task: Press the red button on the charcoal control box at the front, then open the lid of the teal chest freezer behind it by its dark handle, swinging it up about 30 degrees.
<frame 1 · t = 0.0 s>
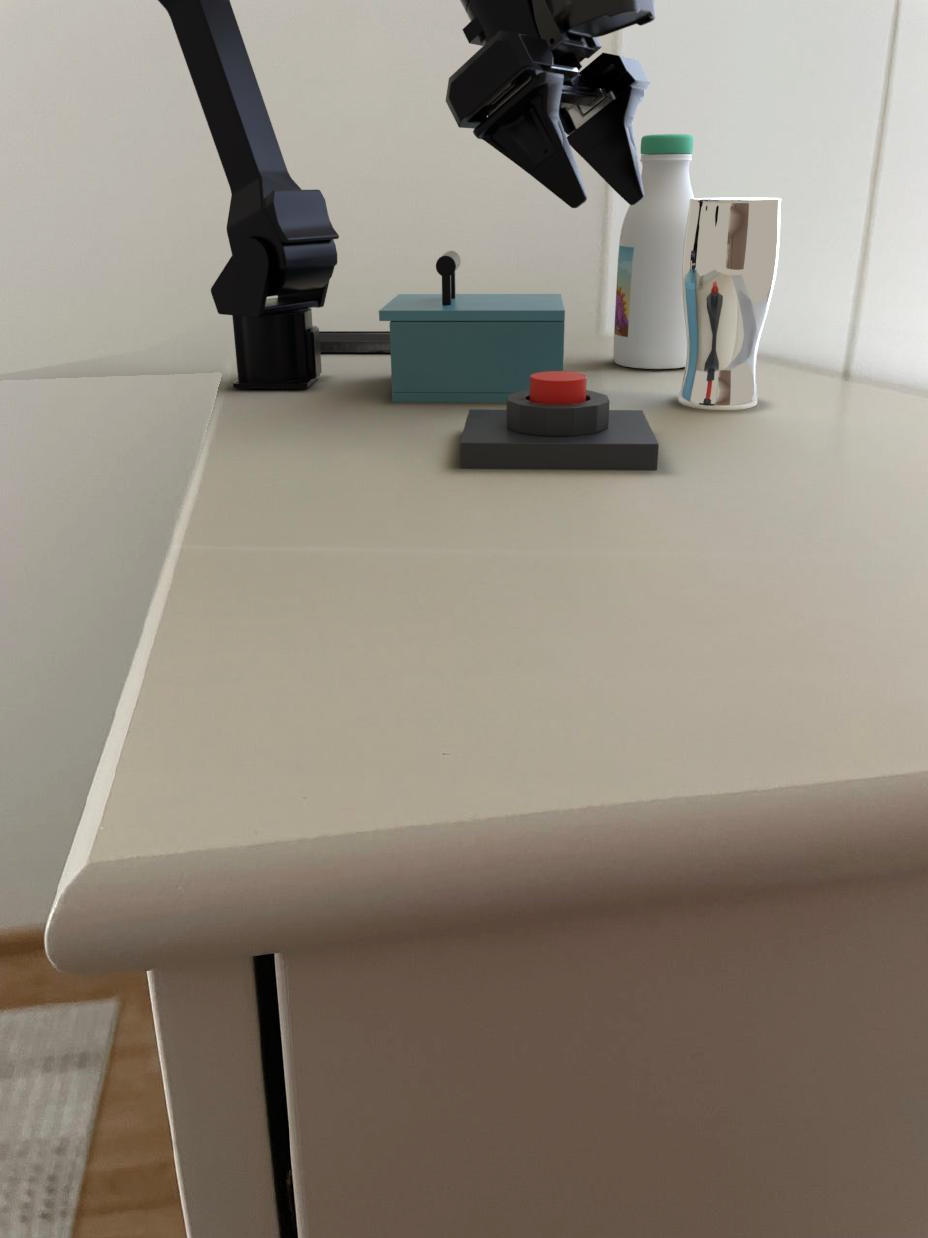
hand: (610, 202, 70), 15 cm above the table, tool tilted 35°, fingers open, 9 cm apart
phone: (359, 348, 110), on the table
beer glass: (717, 405, 82), on the table
power button: (558, 389, 66), point 4 cm above the table, slide at 0.1 cm
control box: (556, 450, 68), on the table
freezer: (480, 388, 88), on the table
milk bottle: (653, 366, 99), on the table
freezer lid: (475, 282, 85), point 9 cm above the table, hinge at 0.0°
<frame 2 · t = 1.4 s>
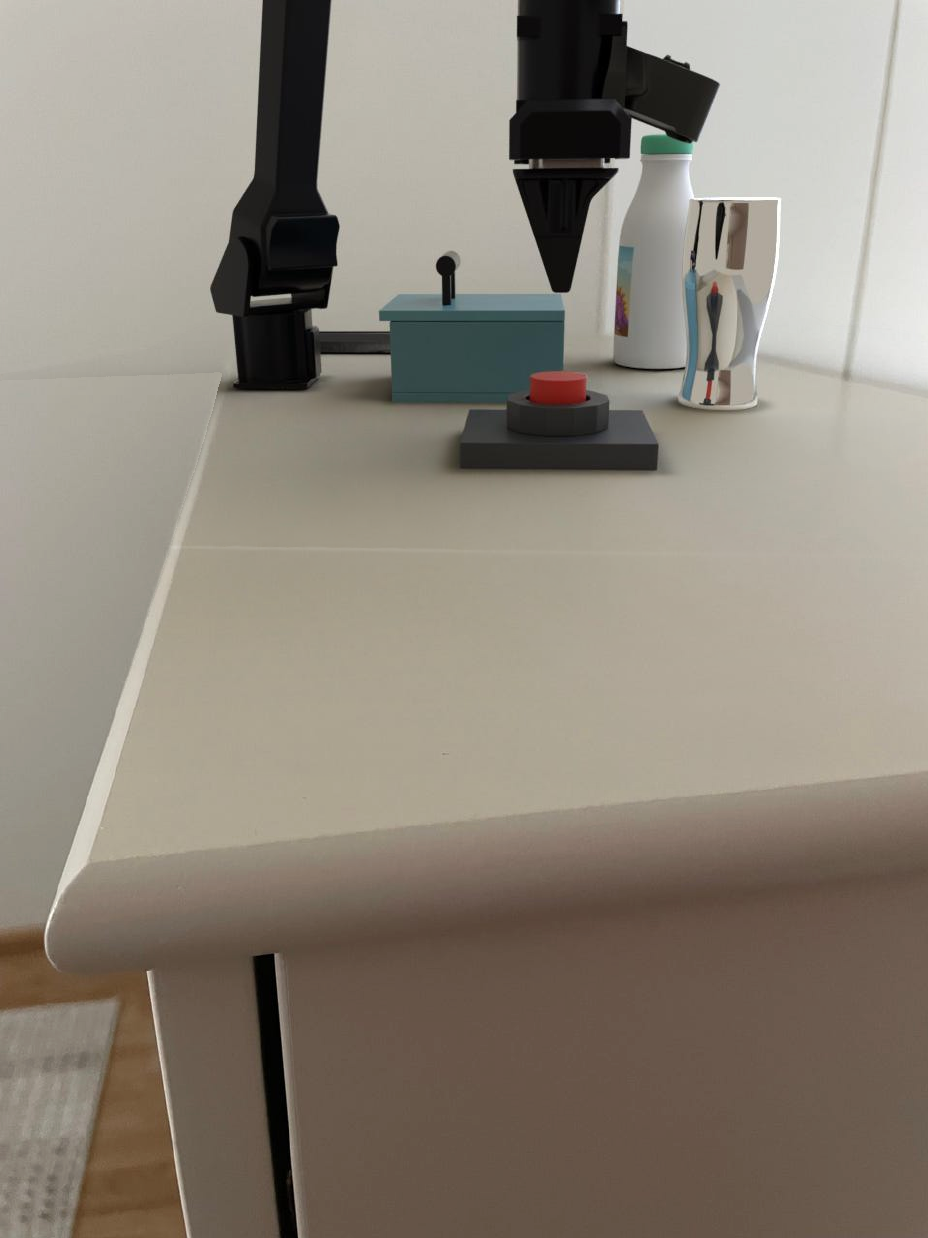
hand: (561, 291, 64), 10 cm above the table, tool pointing down, fingers closed
nothing on the table moved.
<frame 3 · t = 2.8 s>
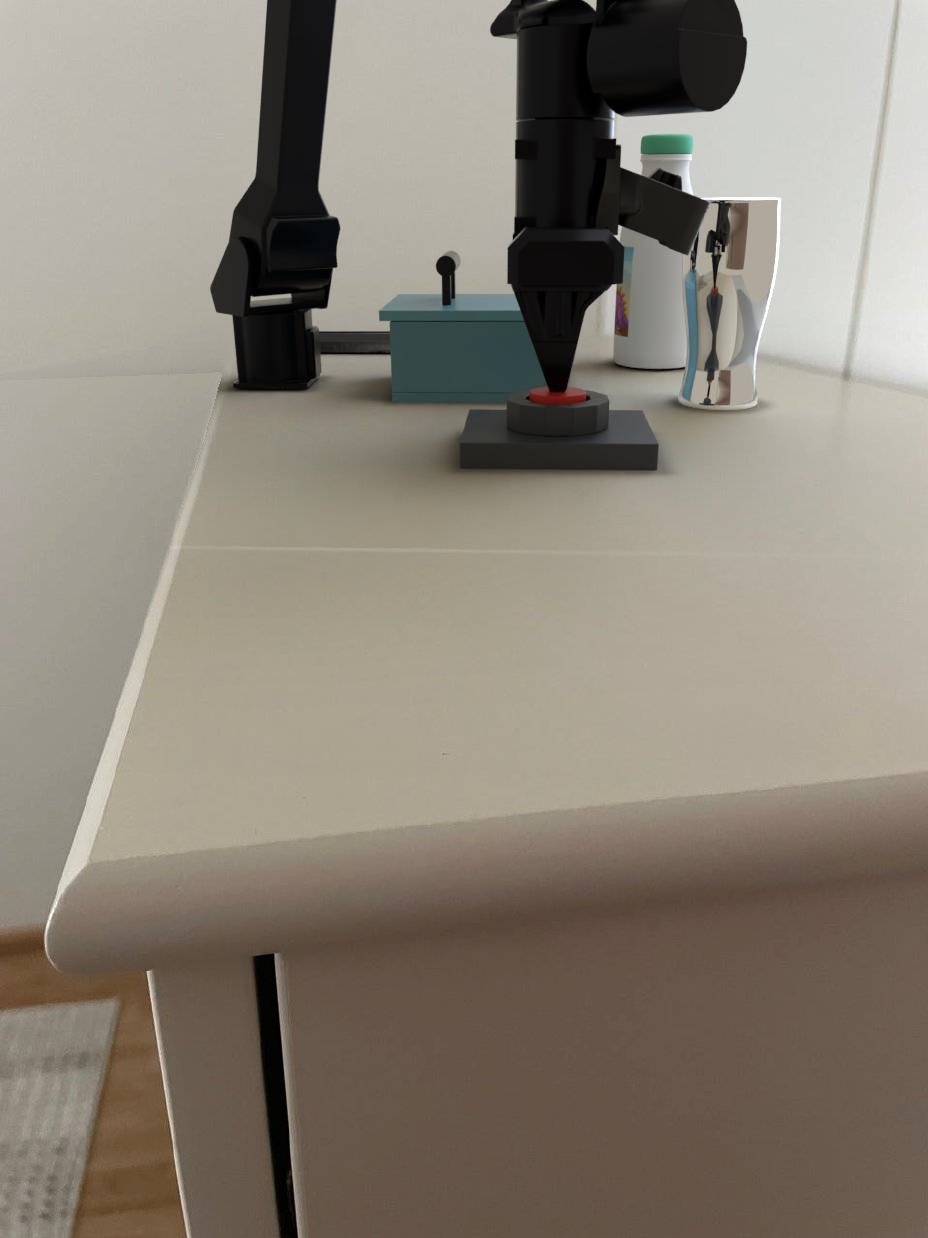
hand: (557, 391, 66), 4 cm above the table, tool pointing down, fingers closed, pressing on power button
power button: (557, 404, 67), point 3 cm above the table, slide at -0.9 cm, touching gripper
everything else where it was.
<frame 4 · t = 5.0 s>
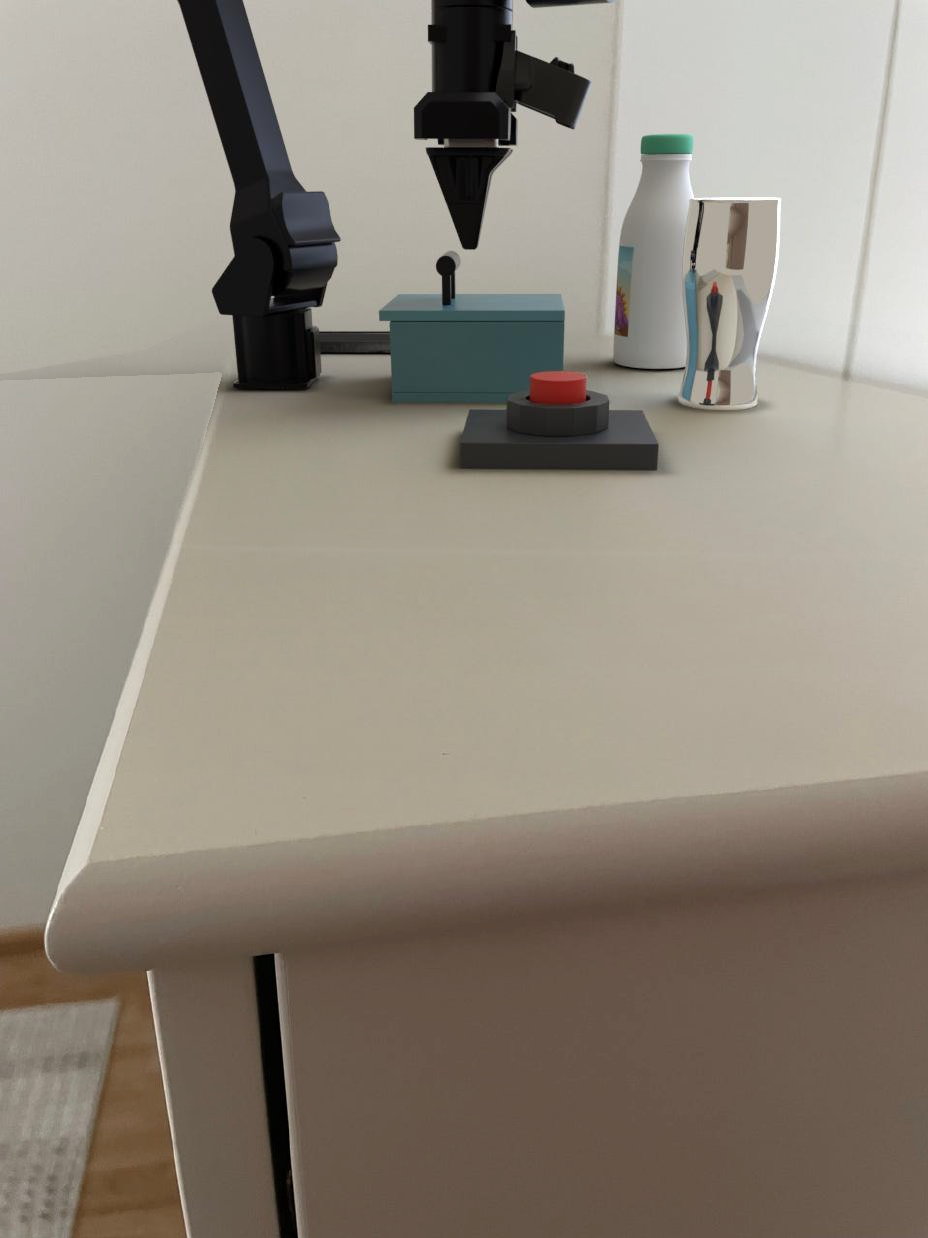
hand: (470, 249, 78), 12 cm above the table, tool pointing down, fingers closed
power button: (558, 389, 66), point 4 cm above the table, slide at 0.1 cm
everything else where it was.
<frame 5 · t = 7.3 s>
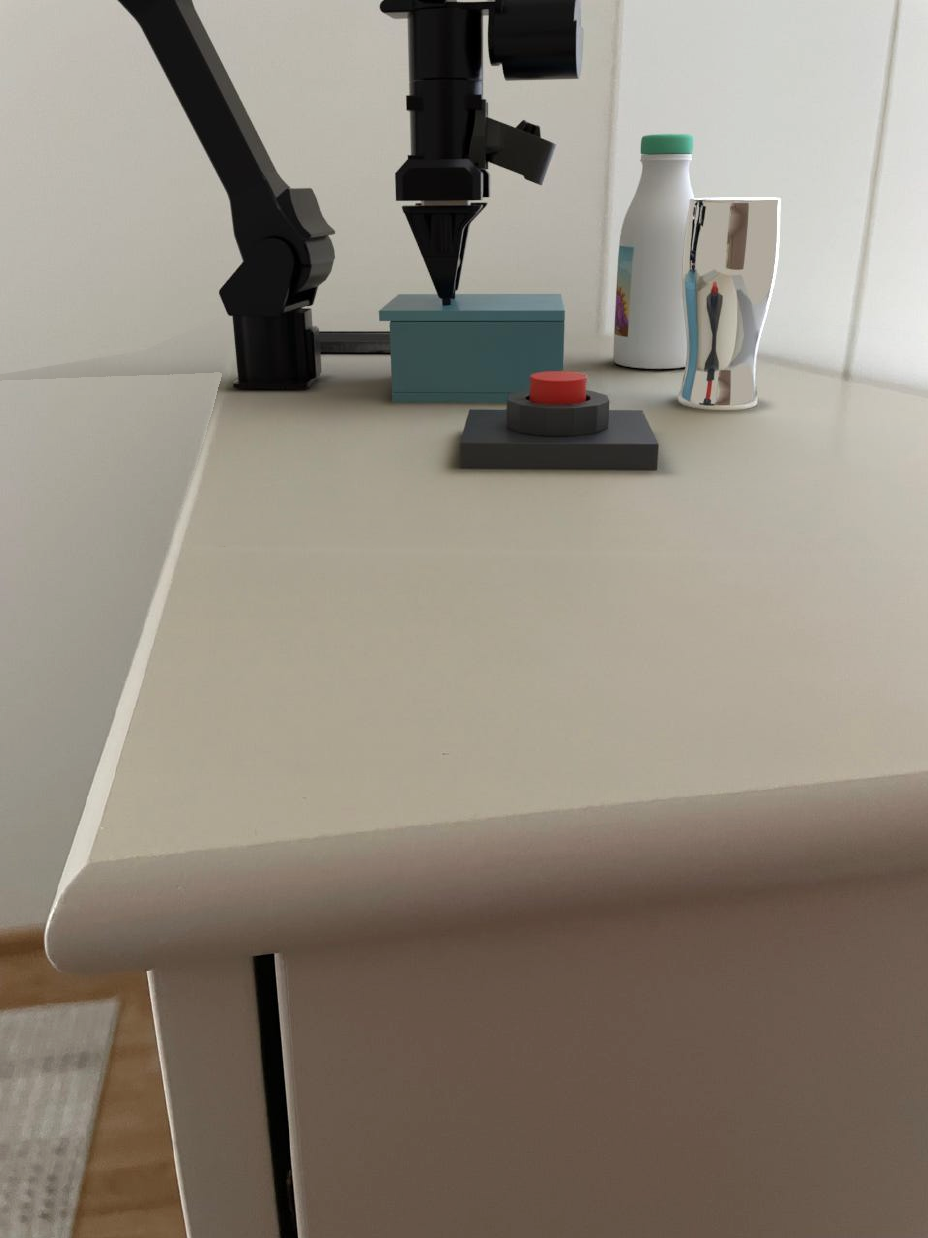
hand: (448, 294, 86), 8 cm above the table, tool pointing down, fingers closed on freezer lid, 6 cm apart
freezer lid: (475, 282, 85), point 9 cm above the table, hinge at 0.0°, touching gripper
everything else where it was.
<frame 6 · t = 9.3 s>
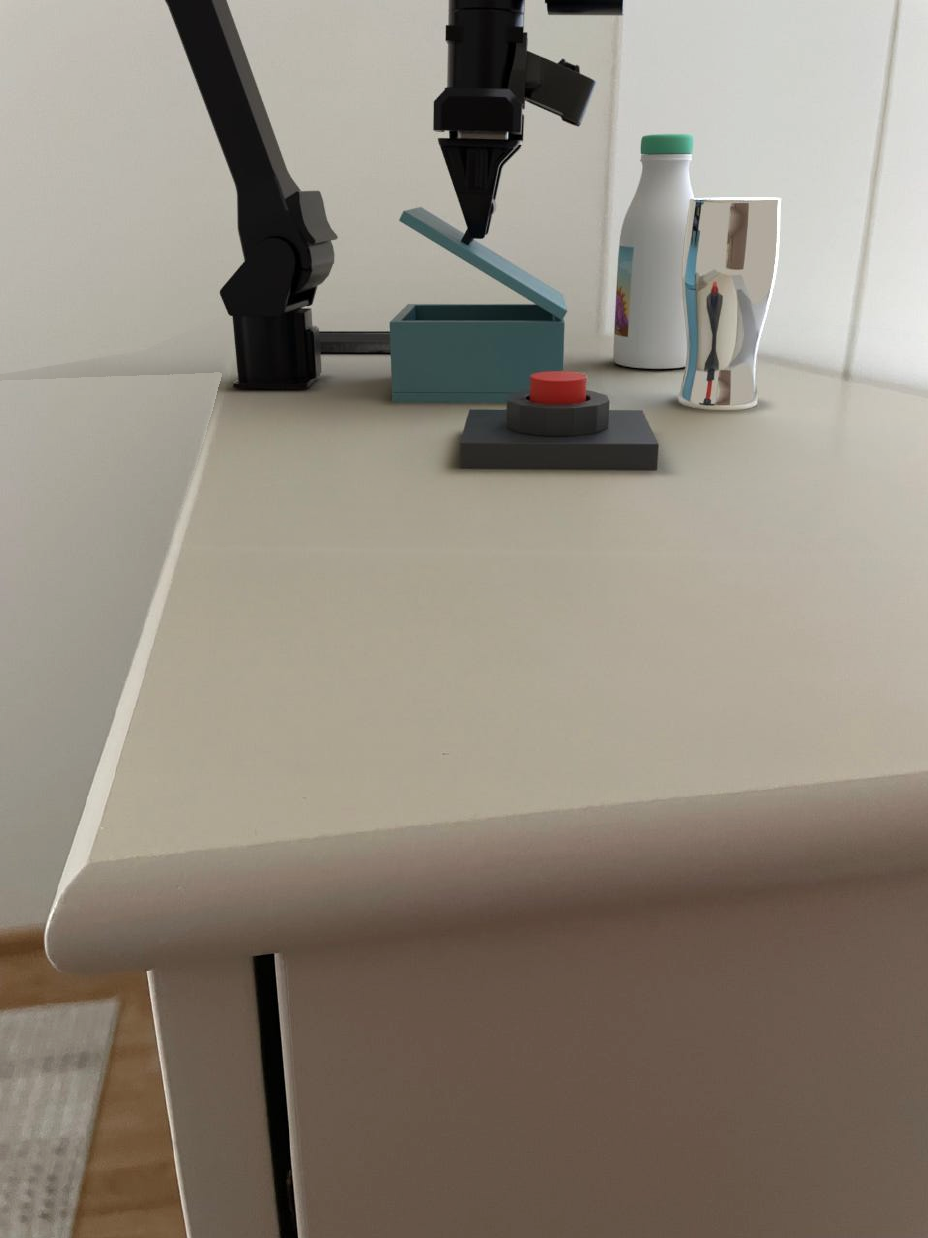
hand: (479, 236, 84), 12 cm above the table, tool pointing down, fingers closed on freezer lid, 6 cm apart
freezer lid: (499, 238, 84), point 12 cm above the table, hinge at 30.3°, touching gripper
everything else where it was.
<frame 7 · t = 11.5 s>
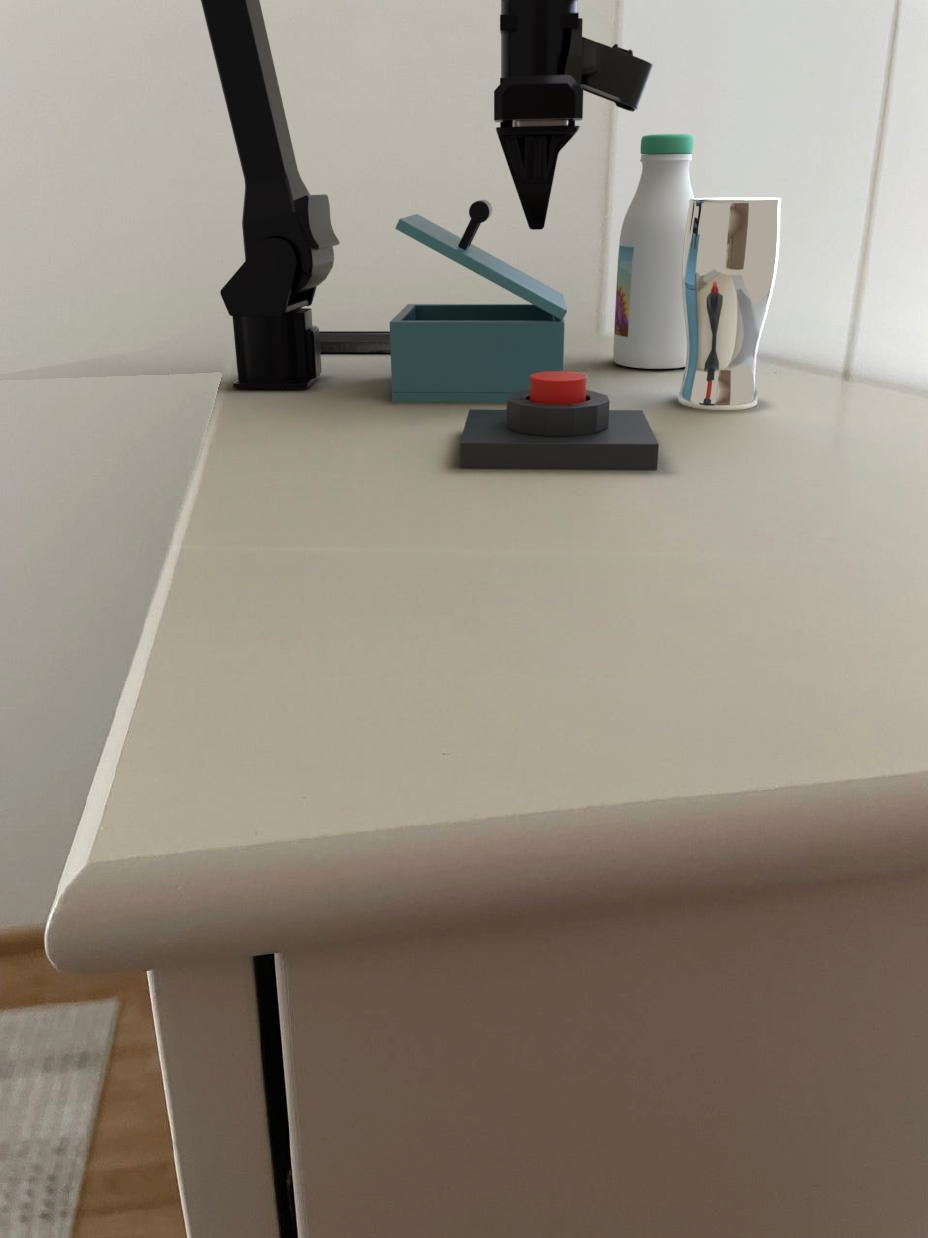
hand: (536, 226, 83), 13 cm above the table, tool pointing down, fingers open, 9 cm apart
freezer lid: (496, 241, 84), point 12 cm above the table, hinge at 27.7°
everything else where it was.
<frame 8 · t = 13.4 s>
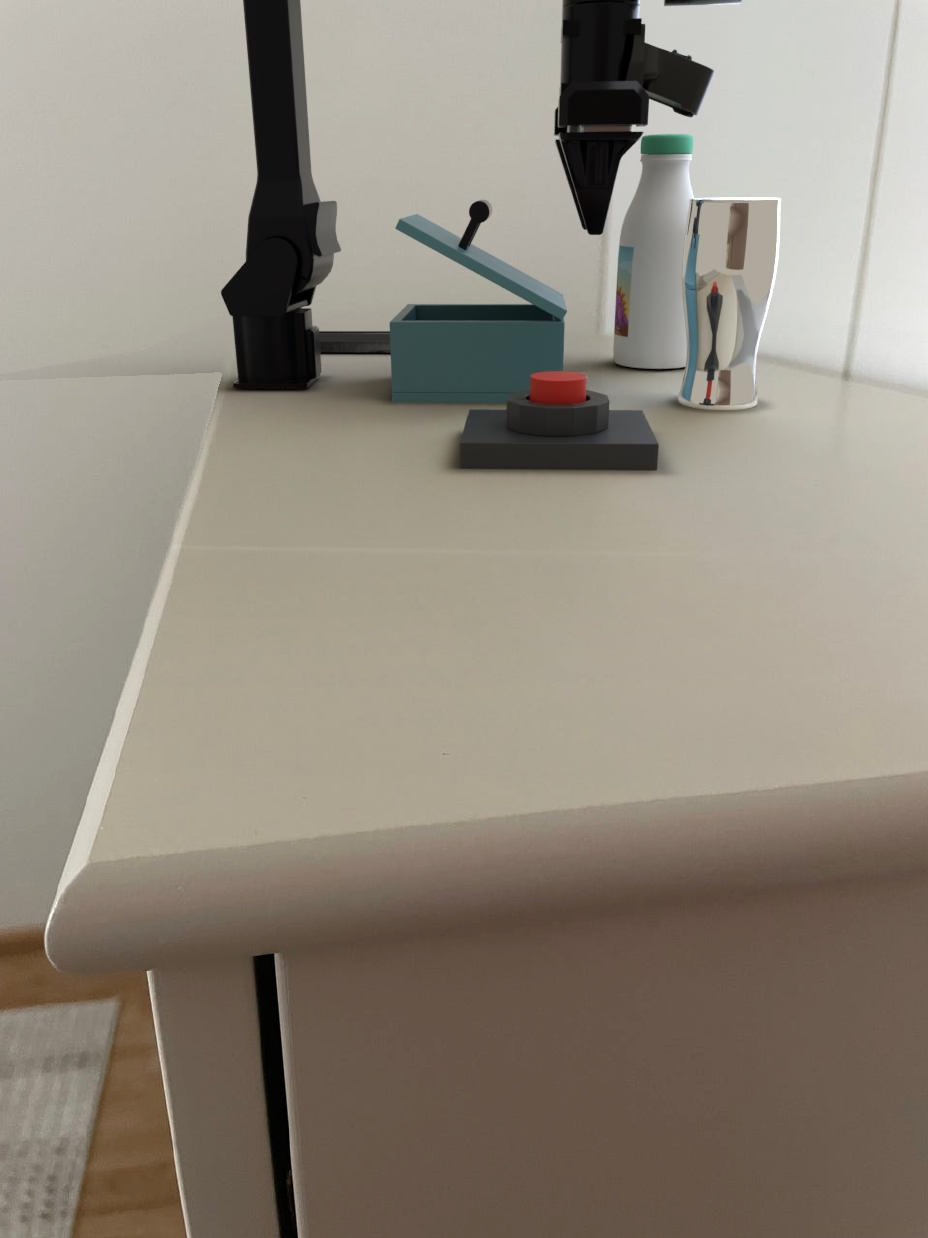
hand: (592, 231, 83), 12 cm above the table, tool pointing down, fingers open, 9 cm apart
nothing on the table moved.
at the end: power button pushed in 1.1 cm at the most during the clip, back to where it started at the end; power button slide at 0.1 cm; freezer lid at +28° (first picture: +0°) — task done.
